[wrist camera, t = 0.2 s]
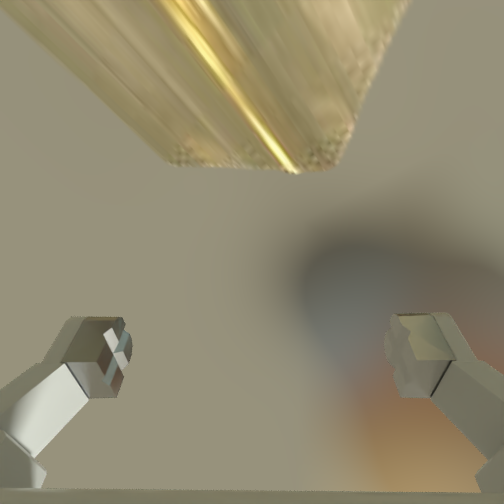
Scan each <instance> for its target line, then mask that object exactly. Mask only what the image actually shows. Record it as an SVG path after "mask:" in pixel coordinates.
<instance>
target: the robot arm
mask: <svg viewBox="0 0 504 504" xmlns="http://www.w3.org/2000/svg"><path fill="white" fill-rule="evenodd" d="M390 325H391V327H392V328H390V329H389V330H388V331H386V334H385V338H384V348H385V354H386V357H387V360H388V363H389V364H391V365H392V366H393V367H394V368H395V372H394V374H393V378H394V381H395V384H396V386H397V389H398V392H399V395H400V397H408V398H431V401H432V402H433V403H434V404H435V405H436V406H437V407H438V408H439V409H440V410H441V411H442V412H443V413H444V414H445V415H446V416H447V418H448V419H449V420H450V421H451V422H452V423H453V424H454V425H455V426H456V427H457V428H458V429H459V430H460V431H461V432H462V433H463V434H464V435H465V436H466V437H467V438H468V439H469V441H470V442H471V443H472V444H473V445H474V446H475V447H476V448H477V449H478V450H479V451H480V452H481V453H482V454H483V455H484V456H485V457H486V458H487V459H488V461H487V462H486V463H485V464H484V465H483V466H482V467H481V468H480V469H479V470H478V471H477V473H476V475H475V478H476V480H477V483H478V485H479V488H480V490H481V492H482V493H446V492H439V493H438V492H437V493H436V492H351V491H346V492H344V491H251V490H156V489H153V490H152V489H150V490H149V489H57V488H56V489H55V488H53V489H52V488H41V486H42V484H43V481H44V479H45V477H46V474H47V472H46V469H45V467H43V466H42V465H41V464H40V463H39V462H38V461H37V460H36V459H35V457H36V456H37V455H38V454H39V453H40V452H41V451H42V449H43V448H44V447H45V446H46V445H47V444H48V443H49V442H50V441H51V440H52V439H53V438H54V437H55V436H56V435H57V433H58V432H59V431H60V430H61V429H62V428H63V427H64V426H65V425H66V424H67V423H68V422H69V421H70V420H71V419H72V417H73V416H74V415H75V414H76V413H77V412H78V411H79V410H80V409H81V408H82V407H83V406H84V405H85V404H86V402H87V401H88V400H89V399H88V398H116V397H117V395H118V392H119V390H120V387H121V384H122V381H123V378H124V376H123V374H122V371H121V370H122V369H123V368H125V367H126V366H127V365H128V364H129V361H130V358H131V355H132V339H131V336H130V334H129V333H128V332H126V331H125V330H124V327H125V322H124V320H123V318H122V317H71V318H69V319H68V320H67V321H66V322H65V324H64V326H63V327H62V329H61V330H60V332H59V334H58V336H57V337H56V339H55V341H54V342H53V344H52V346H51V347H50V349H49V351H48V352H47V354H46V356H45V357H44V359H43V361H42V362H41V363H36V364H35V365H34V366H32V367H31V368H29V369H28V370H26V371H25V372H24V373H22V374H21V375H20V376H18V377H17V378H16V379H14V380H13V381H11V382H10V383H9V384H7V385H6V386H5V387H3V388H2V389H1V390H0V504H504V375H502V374H501V373H500V372H498V371H497V370H495V369H494V368H492V367H491V366H490V365H488V364H487V363H486V362H484V361H478V360H477V358H476V357H475V355H474V353H473V352H472V350H471V349H470V347H469V345H468V343H467V342H466V340H465V338H464V337H463V335H462V333H461V332H460V330H459V328H458V327H457V325H456V324H455V322H454V320H453V318H452V317H451V315H449V314H448V313H394V314H393V315H392V316H391V319H390Z"/></svg>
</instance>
